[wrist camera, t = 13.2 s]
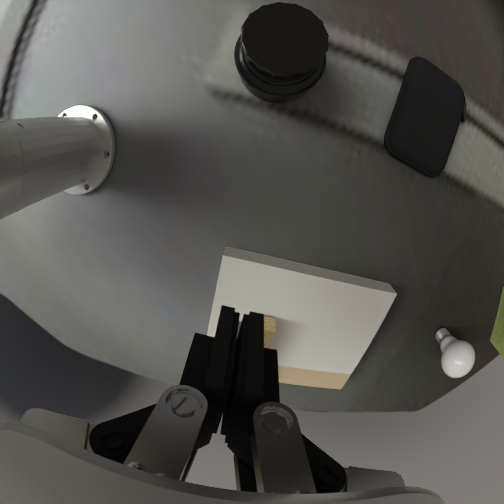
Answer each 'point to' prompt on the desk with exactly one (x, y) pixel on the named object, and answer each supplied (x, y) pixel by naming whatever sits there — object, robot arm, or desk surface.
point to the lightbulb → (455, 354)
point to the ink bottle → (281, 52)
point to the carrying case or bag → (425, 117)
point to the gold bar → (269, 331)
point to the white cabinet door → (305, 313)
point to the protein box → (499, 328)
